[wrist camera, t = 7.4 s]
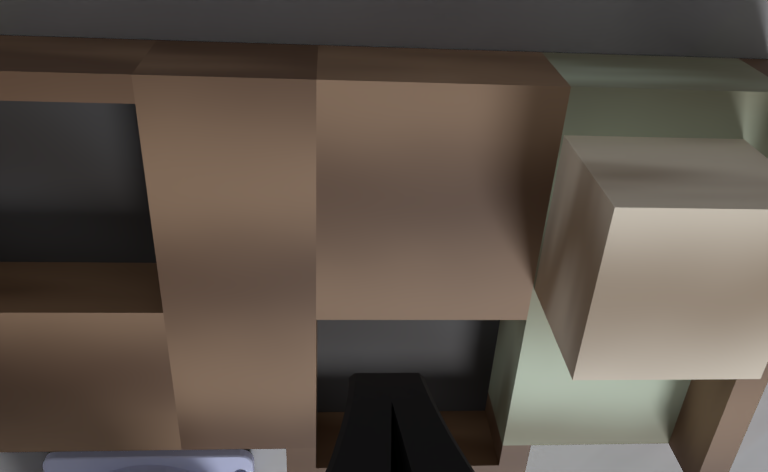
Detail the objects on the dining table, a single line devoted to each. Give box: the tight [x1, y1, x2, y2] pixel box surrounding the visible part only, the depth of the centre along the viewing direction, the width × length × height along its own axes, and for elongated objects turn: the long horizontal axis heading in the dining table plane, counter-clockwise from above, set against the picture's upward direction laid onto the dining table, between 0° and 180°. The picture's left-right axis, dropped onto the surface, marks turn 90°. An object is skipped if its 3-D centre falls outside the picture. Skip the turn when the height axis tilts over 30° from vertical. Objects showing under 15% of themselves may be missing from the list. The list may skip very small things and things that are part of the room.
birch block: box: [534, 135, 768, 380], centre depth 19 cm, size 5×5×4 cm
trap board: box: [0, 35, 768, 472], centre depth 22 cm, size 15×26×5 cm, turn 87°
